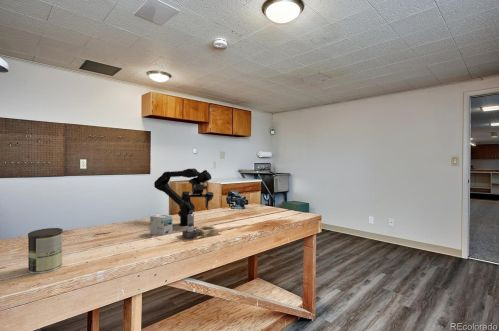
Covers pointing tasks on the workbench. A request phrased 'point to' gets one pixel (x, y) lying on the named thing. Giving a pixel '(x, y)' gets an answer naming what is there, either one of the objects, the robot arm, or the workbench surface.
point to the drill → (190, 223)
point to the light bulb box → (160, 224)
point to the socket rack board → (199, 233)
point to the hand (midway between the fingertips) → (198, 208)
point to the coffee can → (44, 250)
